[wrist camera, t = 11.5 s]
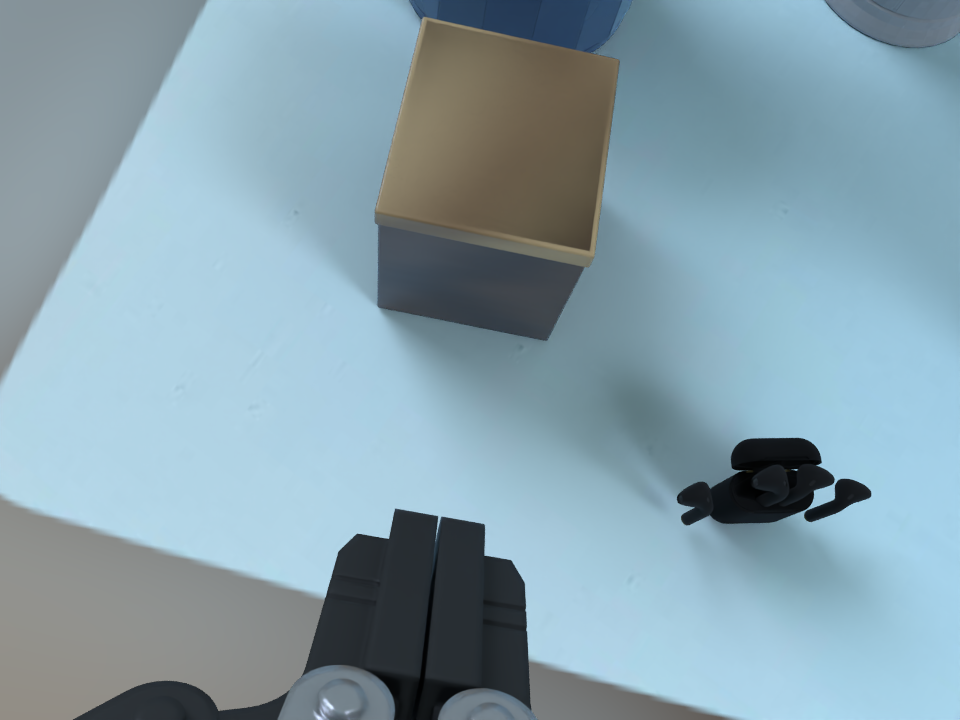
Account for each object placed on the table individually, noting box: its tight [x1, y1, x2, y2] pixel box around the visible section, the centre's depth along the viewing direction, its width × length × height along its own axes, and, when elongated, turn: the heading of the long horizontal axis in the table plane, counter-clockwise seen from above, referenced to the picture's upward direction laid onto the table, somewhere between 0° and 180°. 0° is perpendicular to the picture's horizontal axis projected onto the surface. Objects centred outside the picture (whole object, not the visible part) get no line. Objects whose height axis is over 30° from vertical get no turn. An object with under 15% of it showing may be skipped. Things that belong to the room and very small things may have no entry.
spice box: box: [375, 17, 620, 341], centre depth 32 cm, size 7×8×8 cm
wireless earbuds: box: [677, 438, 871, 525], centre depth 30 cm, size 7×2×5 cm, turn 93°
